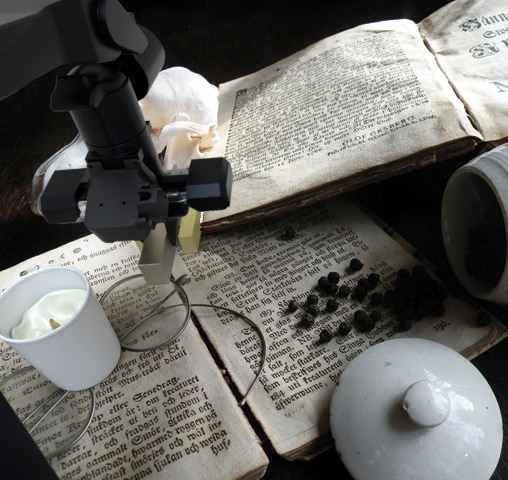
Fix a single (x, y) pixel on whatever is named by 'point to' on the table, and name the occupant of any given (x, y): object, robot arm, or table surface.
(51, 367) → the candle holder
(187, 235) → the butter slice
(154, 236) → the knife
